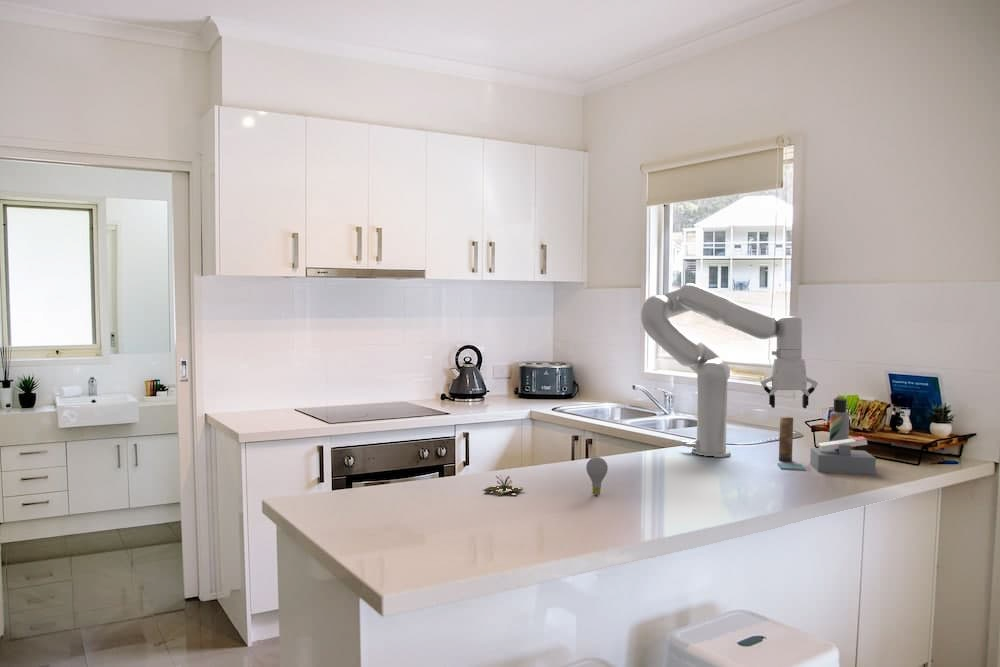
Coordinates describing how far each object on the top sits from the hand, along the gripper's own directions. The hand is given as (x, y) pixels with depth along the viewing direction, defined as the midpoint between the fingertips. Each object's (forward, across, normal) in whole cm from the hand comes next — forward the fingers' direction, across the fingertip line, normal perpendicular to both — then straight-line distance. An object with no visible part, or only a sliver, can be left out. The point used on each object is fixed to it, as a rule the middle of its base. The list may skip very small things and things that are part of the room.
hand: (788, 407), depth 242 cm
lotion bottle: (+18, +17, +9) cm, 26 cm away
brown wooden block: (+17, -1, 0) cm, 17 cm away
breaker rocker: (+10, +14, -9) cm, 19 cm away
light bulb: (+16, -57, -62) cm, 86 cm away
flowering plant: (+17, -81, -64) cm, 104 cm away
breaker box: (+18, +14, -9) cm, 24 cm away
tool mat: (+17, -1, -11) cm, 20 cm away
